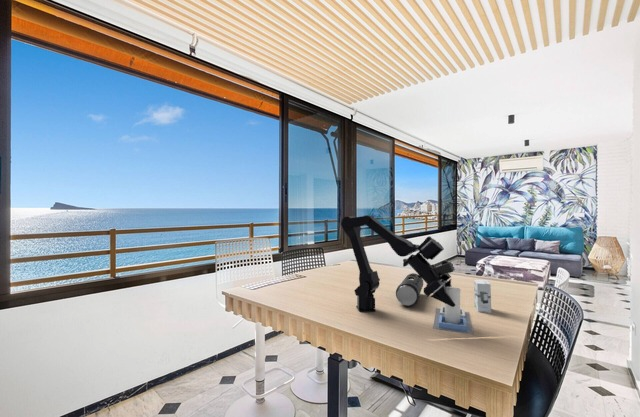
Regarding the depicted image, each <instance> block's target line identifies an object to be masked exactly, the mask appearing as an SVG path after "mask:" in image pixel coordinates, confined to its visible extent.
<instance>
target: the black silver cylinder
mask: <svg viewBox="0 0 640 417" xmlns="http://www.w3.org/2000/svg"><path fill="white" fill-rule="evenodd" d="M418 276H419V275H418V273H416V272H415V273H414V272H413V273H409V274H407V275H406V277H405V278H404V279H403V280H402V282H401V283H399V285H398V286H397V288H396V290H395V296H396V299H397V301H398V302H399V303H400V304H401V305H404V306H406V307H407V306H408V307H412V306H415V305H416V304H417V303H418V301H419V300H420V297H421V292H422V289H423V287H424V280H423V279H422V278H419V277H418Z"/></svg>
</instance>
